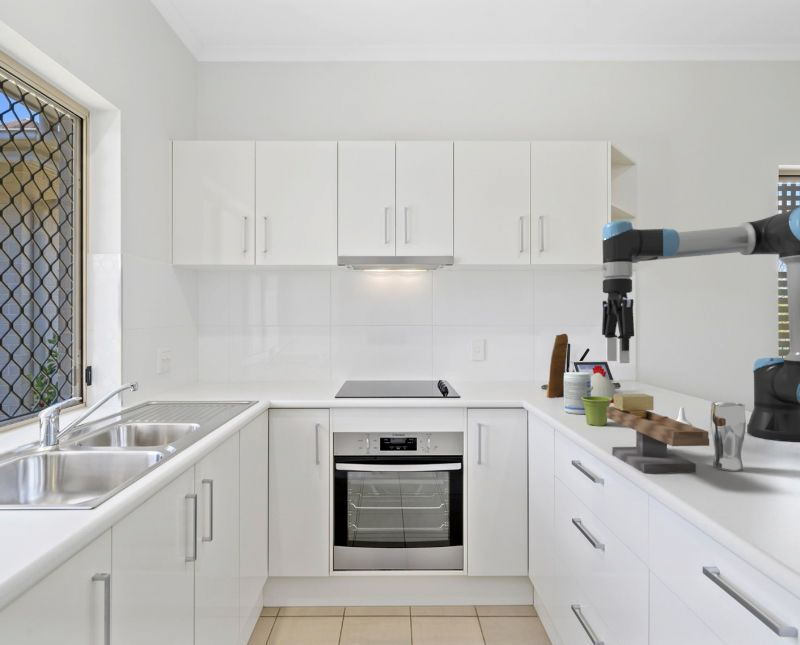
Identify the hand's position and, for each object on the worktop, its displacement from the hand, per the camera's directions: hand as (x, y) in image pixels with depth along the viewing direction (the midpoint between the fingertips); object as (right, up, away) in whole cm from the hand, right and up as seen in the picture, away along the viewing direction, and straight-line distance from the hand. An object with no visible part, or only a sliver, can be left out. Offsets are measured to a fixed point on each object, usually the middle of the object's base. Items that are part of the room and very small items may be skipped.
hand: (617, 361), depth 144 cm
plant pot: (+5, -23, +28) cm, 37 cm away
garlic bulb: (+26, -23, +16) cm, 39 cm away
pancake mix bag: (+11, -23, +92) cm, 95 cm away
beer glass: (+16, -23, -22) cm, 36 cm away
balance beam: (+1, -23, -18) cm, 29 cm away
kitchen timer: (+25, -23, +78) cm, 85 cm away
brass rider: (0, -13, -9) cm, 16 cm away
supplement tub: (+6, -23, +50) cm, 56 cm away
